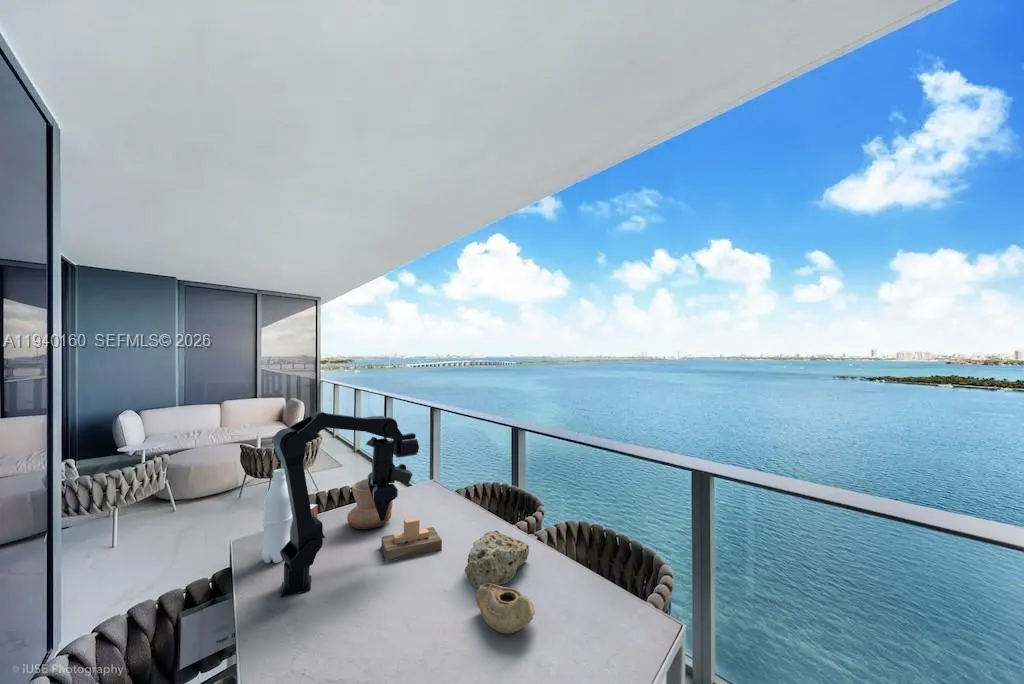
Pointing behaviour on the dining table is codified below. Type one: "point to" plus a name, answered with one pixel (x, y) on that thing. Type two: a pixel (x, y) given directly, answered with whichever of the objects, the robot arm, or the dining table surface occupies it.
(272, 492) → the water bottle
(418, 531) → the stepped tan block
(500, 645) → the dining table surface
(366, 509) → the ceramic jug
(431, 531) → the brown slotted block
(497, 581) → the rock
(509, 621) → the oil lamp
